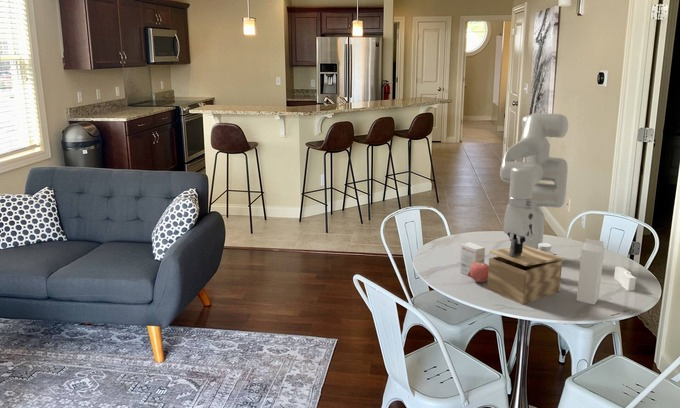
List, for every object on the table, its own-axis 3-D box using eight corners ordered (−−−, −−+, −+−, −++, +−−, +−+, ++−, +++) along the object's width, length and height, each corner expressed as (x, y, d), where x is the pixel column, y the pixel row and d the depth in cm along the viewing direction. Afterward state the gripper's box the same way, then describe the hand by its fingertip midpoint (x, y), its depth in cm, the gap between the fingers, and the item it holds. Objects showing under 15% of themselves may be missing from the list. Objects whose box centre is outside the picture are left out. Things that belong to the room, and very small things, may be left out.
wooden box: (523, 277, 219) (525, 248, 216) (559, 291, 206) (562, 260, 203) (487, 289, 209) (489, 258, 206) (522, 304, 196) (525, 271, 193)
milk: (580, 295, 203) (587, 236, 198) (598, 299, 200) (605, 239, 194) (576, 300, 199) (582, 240, 193) (594, 305, 195) (601, 243, 190)
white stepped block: (609, 276, 221) (611, 262, 220) (642, 282, 215) (644, 268, 213) (602, 289, 209) (604, 274, 208) (637, 296, 203) (639, 281, 201)
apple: (468, 284, 213) (470, 264, 211) (470, 276, 220) (471, 257, 218) (489, 286, 211) (490, 265, 209) (489, 278, 218) (491, 259, 216)
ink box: (484, 276, 221) (486, 247, 218) (475, 279, 218) (477, 250, 215) (468, 269, 228) (469, 241, 225) (459, 272, 225) (460, 243, 222)
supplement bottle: (542, 280, 216) (545, 248, 213) (529, 274, 222) (531, 243, 219) (554, 277, 219) (557, 245, 216) (541, 271, 225) (544, 240, 222)
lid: (525, 247, 216) (528, 230, 215) (562, 259, 203) (565, 241, 202) (489, 252, 205) (492, 234, 204) (525, 266, 192) (528, 246, 191)
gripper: (545, 205, 192) (541, 257, 196) (509, 196, 204) (506, 245, 209) (531, 208, 188) (527, 261, 192) (495, 199, 200) (492, 248, 205)
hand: (516, 252), depth 201 cm, fingers closed
